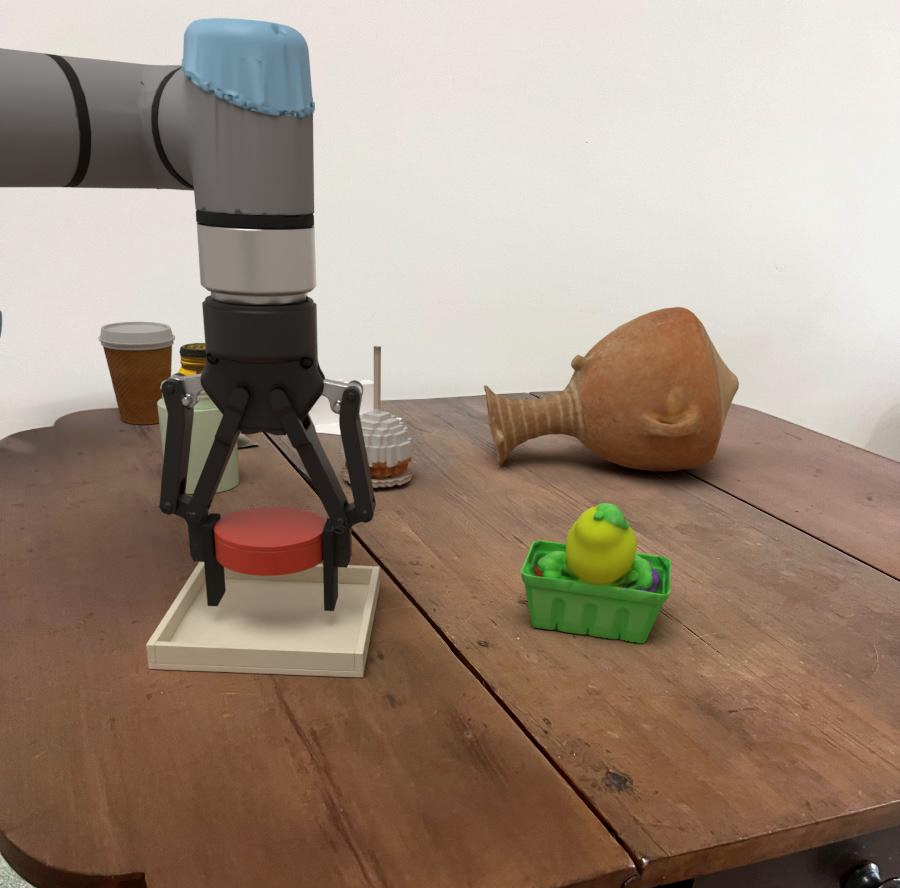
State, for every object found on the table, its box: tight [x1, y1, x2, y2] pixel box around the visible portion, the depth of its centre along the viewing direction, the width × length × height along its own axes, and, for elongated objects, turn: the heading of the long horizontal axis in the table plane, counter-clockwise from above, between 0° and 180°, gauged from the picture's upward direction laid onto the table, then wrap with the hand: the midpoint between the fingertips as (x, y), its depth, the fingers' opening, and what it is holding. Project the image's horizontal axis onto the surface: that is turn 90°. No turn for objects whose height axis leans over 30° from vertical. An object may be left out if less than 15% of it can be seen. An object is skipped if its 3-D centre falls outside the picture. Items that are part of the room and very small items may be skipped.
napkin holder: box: [309, 378, 403, 436], centre depth 125 cm, size 15×11×6 cm
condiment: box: [177, 342, 259, 448], centre depth 112 cm, size 7×8×12 cm
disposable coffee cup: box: [97, 321, 176, 425], centre depth 121 cm, size 10×10×12 cm
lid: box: [214, 505, 326, 576], centre depth 69 cm, size 8×8×2 cm
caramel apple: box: [340, 345, 414, 489], centre depth 101 cm, size 8×8×15 cm
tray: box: [145, 562, 381, 678], centre depth 71 cm, size 15×15×2 cm
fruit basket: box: [520, 502, 672, 644], centre depth 71 cm, size 11×9×11 cm
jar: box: [157, 380, 241, 495], centre depth 99 cm, size 8×8×11 cm
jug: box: [483, 306, 740, 473], centre depth 109 cm, size 20×19×30 cm
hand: (274, 600), depth 71 cm, fingers closed on lid, 8 cm apart
